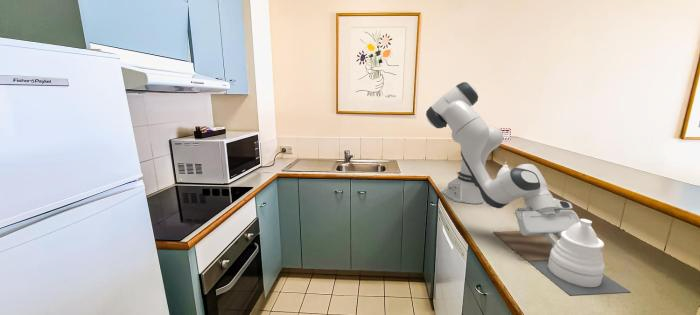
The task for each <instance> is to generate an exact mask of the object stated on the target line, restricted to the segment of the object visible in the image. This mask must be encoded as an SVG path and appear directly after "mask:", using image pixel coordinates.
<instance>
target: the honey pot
mask: <svg viewBox="0 0 700 315" xmlns="http://www.w3.org/2000/svg"><path fill="white" fill-rule="evenodd" d="M579 219H580V222H578V223H576V224H574V225H572V226H571V227H570V228H569V229H568V230H566V231H563V232H561V238H560V239H559V240H558V239H557V240H556V241H557V243H556V244H555V246H554V247H553V248H552V249H551V252H550V257H549V262H548V268H549V270H550V271H551V272H552V273H553V274H554V275H556V276H557V277H559V278H561V279H562V280H565V281H567V282H569V283H572V284H575V285H579V286H583V287H597V286H599V285H600V284H601V282H602V277H603V274H604V272H605V267H606V265H605V263H604V257H603V254H604V253H603V252H602V249H603V248H604V247H605V242H604V241H603V240H602V239H600V238H599V237H598V236H597V233H596V232H595V230H594V229H593V227H592V224H593V221H592V220H590V219H587V218H579Z"/></svg>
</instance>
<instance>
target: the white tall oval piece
mask: <svg viewBox="0 0 700 315" xmlns="http://www.w3.org/2000/svg"><path fill="white" fill-rule="evenodd" d="M509 170H511V169H510V167H509V165H507V162H505V163H504V164H503V165H502V167H501V168H500V169H499V170H498V172H497V175H496V177H495V179H496V178H498V177H499V176H501V175H502V174H504V173H505V172H507V171H509Z"/></svg>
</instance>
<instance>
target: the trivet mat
mask: <svg viewBox="0 0 700 315" xmlns="http://www.w3.org/2000/svg"><path fill="white" fill-rule="evenodd" d="M548 262H549V261H529V262H528V263H529V264H531V266H533V267H534V268H535V269H537V270H538V271H539V272H540V273H541V274H542V275H543V276H545V277H546V278H547V279H549V280H550V281H551V282H552V283H554V285H556V287H559V288H560V289H561V290H562V291H564V293H566V294H567V295H568V296H571V297H572V296H589V295H591V296H592V295H606V294H607V295H608V294H609V295H610V294H624V293H625V294H626V293H631V291H630V290H629V289H627V288H626V287H624V286H623V285H621V284H620V283H618V282H616V281H615V280H614V279H612V278H610V277H609V276H608V275H605V274H604V273H603V277H602V282H601V284H600V285H599V286H597V287H583V286H579V285H575V284H572V283H569V282H567V281H565V280H562V279H561V278H559V277H557V276H556V275H554V274H553V273H552V272H551V271H550V270H549V268H548Z"/></svg>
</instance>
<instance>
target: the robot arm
mask: <svg viewBox="0 0 700 315" xmlns="http://www.w3.org/2000/svg"><path fill="white" fill-rule="evenodd" d="M478 100H479V95H478V91H477V90H476V88H475V86H474V85H472V84H470V83H468V82H467V81H465V82H464V81H463V82H460V83H458V84H456V85H455V87H453V88H451V89H450V90H449V91H447V92H446V93H444V94H443V96H441V97H440V98H439V99H438V100H437V101H436V102H434V104H432V105H431V106H429V107H428V109H427V110H426V113H425V116H426V120H427V122H428V123H429V124H430V125H431V126H433V127H434V128H436V129H443V128H447V125H448V126H449V128H450V130H451V137H452V140H453V141H454V142H455V143H457V144H459V145H460V155H461V167H460V171H456V175H457V177H456V178H455V179H452V180H451V181H449V182H448V183H447V186H446V189H443V190H441V192H442V194H444V196H447V197H448V198H450V199H451V200H453V201H454V202H458V203H466V204H472V205H473V204H475V205H476V204H478V205H479V204H483V203H486V205H488V206H490V207H492V208H495V209H503V208H504V207H506V206H508V205H509V204H510V203H512V202H514V201H516V200H517V199H520V198H523V202H524V205H525V207H518V208H516V209H515V211H514V215H515V217H516V220H517V224H518V228H519V231H520V232H521V233H522V234H523V235H524V236H536V235H545V238H546V239H547V240H548V241H549V242H550V243H552V246H553V247H554V246H555V244H556V243H557V241H558V240H559V239H560V238H561V232H563V231H566V230H568V229H569V228H570V227H571V226H572V225H574V224H576V223H578V222H580V219H581V218H580V216H578V214H577V212H575V210H573V204H572V203H571V202H569V201H565V200H561V199H558V198H556V197H554V196H553V194H552V193H551V192H550V190H549V188H548V183H547V181H546V179H545V177H544V176H543V174H542V172H541V171H540V170H539V168H538V167H536V165H534V164H532V163H524V164H523V163H522V164H518V165H517V166H515V167H513V168H511V169H510V170H509V171H507V172H505V173H504V174H502V175H501V176H499V177H498V178H496V177H495V178H494V179H492V178H491V177H490V175H489V173H488V172H487V169H486V163H487V159H488V157H489V155H490V154H491V152H492V151H493V150H496V149H497V148H499V146H501V144H502V142H503V140H504V136H503V132H502V130H501V129H500V128H497V127H496V126H495V127H494V126H491V125H488V124H487V123H486V121H485V120H484V119H483V118H482V117H481V116H480V115H479V113H478V112H477V111H476V110H474V108H473V106H474V105H475V104H476V103H477V102H478ZM554 237H555V238H556V239H557V240H556V239H555V238H554Z"/></svg>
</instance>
